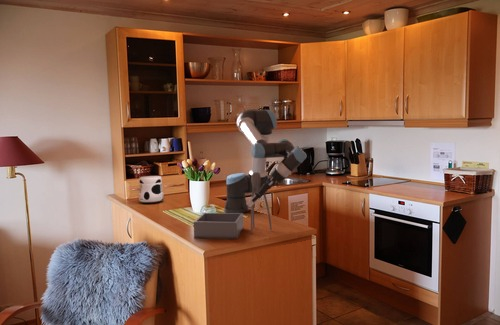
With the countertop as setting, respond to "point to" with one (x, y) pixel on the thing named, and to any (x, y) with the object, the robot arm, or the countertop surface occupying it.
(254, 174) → the citrus juicer
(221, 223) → the gray open bin
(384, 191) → the countertop surface
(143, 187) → the milk container
